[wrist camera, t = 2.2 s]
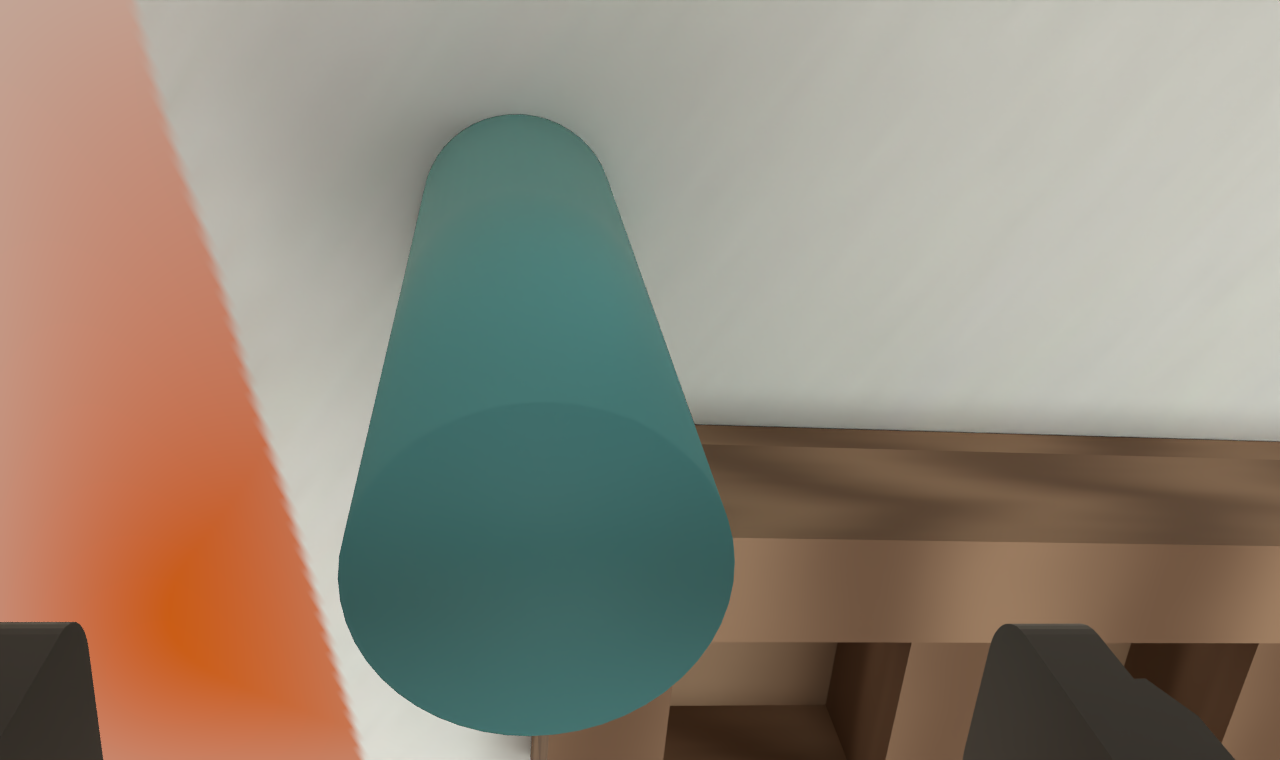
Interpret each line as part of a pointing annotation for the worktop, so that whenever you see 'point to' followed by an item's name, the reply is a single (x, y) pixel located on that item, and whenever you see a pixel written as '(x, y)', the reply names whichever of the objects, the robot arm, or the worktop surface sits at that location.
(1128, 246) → the worktop surface
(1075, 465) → the bore block
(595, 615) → the pin
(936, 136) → the worktop surface
